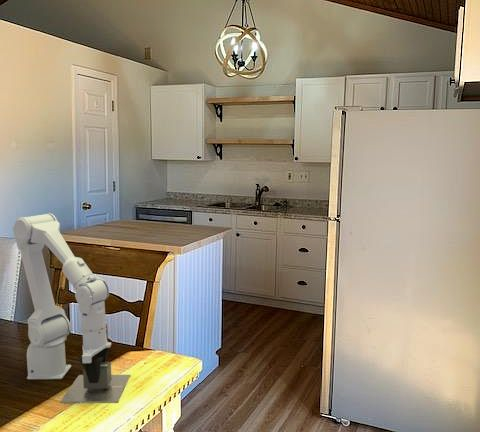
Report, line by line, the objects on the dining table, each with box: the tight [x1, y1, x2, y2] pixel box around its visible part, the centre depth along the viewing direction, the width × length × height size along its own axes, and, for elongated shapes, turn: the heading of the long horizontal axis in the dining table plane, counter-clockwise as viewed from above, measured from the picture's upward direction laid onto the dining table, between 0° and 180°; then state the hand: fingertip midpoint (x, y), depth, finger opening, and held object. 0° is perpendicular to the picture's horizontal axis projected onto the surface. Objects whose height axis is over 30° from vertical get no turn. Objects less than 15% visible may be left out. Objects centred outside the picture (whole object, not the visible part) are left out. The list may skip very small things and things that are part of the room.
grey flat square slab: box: [59, 374, 131, 404], centre depth 127 cm, size 14×14×3 cm
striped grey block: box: [82, 361, 112, 388], centre depth 127 cm, size 6×4×5 cm
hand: (96, 377), depth 127 cm, fingers closed on striped grey block, 4 cm apart
